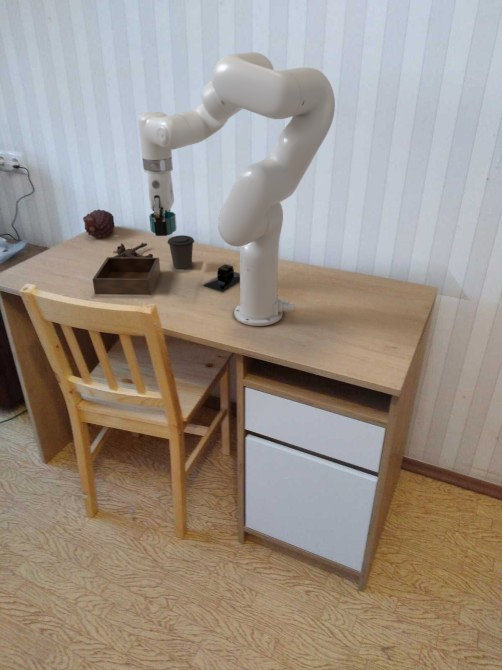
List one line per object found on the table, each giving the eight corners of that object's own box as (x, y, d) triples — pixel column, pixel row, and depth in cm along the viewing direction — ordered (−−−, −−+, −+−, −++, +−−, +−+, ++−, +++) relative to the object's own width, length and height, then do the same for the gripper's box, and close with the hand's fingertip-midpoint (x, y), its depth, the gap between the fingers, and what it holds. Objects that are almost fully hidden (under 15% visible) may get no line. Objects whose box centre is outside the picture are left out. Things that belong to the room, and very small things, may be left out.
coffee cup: (196, 272, 162) (195, 241, 157) (170, 274, 161) (167, 243, 156) (195, 262, 169) (193, 232, 164) (169, 264, 168) (166, 233, 163)
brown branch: (128, 264, 160) (94, 249, 166) (128, 277, 162) (95, 262, 169) (168, 246, 173) (136, 232, 179) (168, 258, 175) (136, 244, 181)
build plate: (222, 292, 151) (221, 277, 149) (202, 286, 155) (201, 271, 152) (247, 276, 160) (247, 262, 157) (228, 271, 163) (227, 257, 161)
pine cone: (94, 225, 198) (106, 202, 195) (116, 241, 198) (129, 218, 195) (70, 229, 181) (82, 204, 178) (93, 245, 181) (107, 221, 178)
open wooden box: (160, 273, 162) (159, 257, 159) (150, 297, 148) (148, 279, 146) (109, 273, 162) (107, 256, 159) (95, 296, 149) (92, 279, 146)
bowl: (178, 228, 150) (177, 211, 147) (174, 237, 144) (173, 219, 141) (153, 228, 150) (152, 211, 147) (149, 237, 144) (147, 219, 141)
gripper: (166, 173, 130) (172, 242, 139) (177, 156, 145) (181, 220, 154) (136, 172, 130) (144, 242, 139) (149, 156, 145) (156, 220, 154)
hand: (163, 230), depth 146 cm, fingers closed on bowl, 7 cm apart
